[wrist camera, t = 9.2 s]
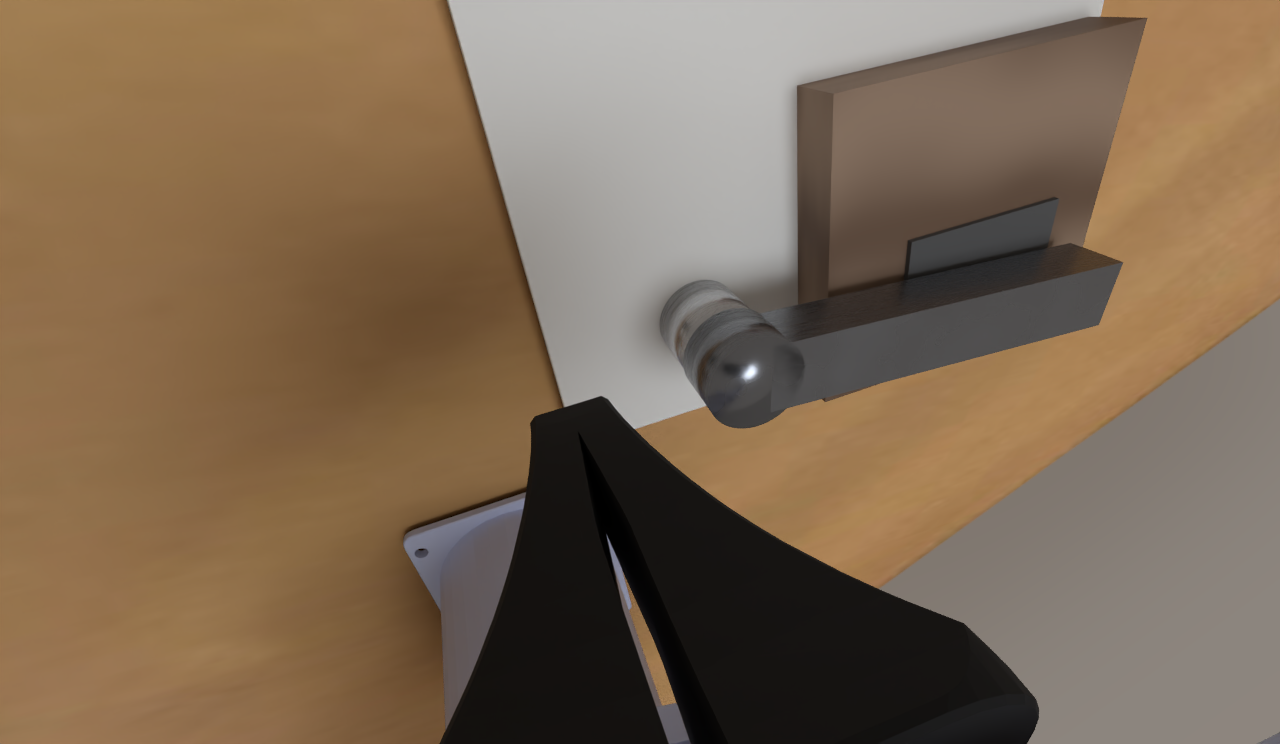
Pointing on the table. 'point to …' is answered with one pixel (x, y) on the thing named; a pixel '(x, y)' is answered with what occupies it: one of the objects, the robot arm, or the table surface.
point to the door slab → (954, 146)
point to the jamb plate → (673, 153)
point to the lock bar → (891, 331)
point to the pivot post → (693, 311)
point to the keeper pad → (982, 240)
